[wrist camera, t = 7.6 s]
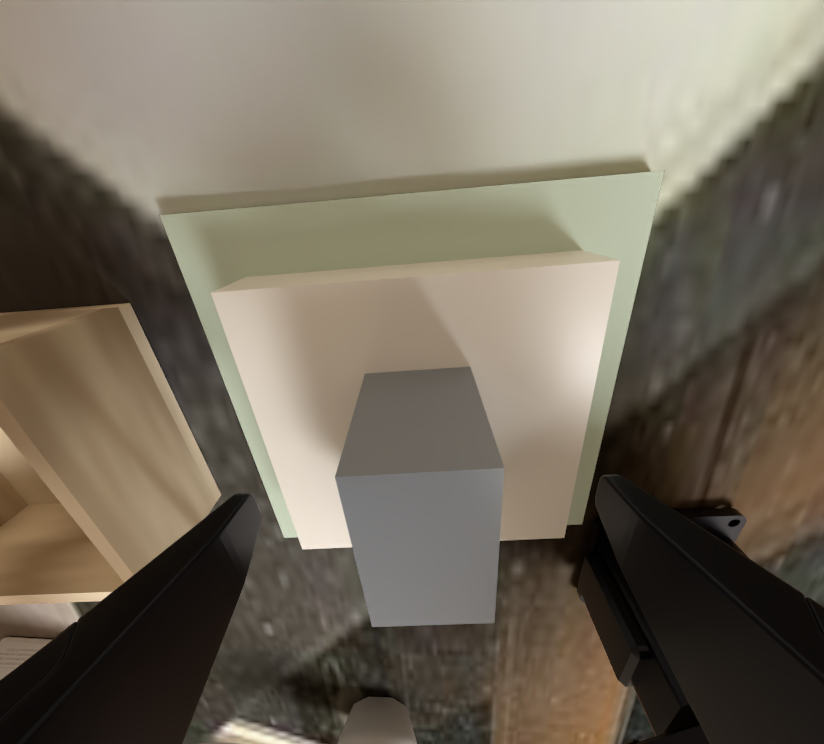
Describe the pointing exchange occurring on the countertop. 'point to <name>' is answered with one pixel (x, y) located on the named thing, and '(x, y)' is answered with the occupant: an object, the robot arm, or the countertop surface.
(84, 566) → the box
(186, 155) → the countertop surface
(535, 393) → the lid
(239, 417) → the mat
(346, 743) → the salt shaker
